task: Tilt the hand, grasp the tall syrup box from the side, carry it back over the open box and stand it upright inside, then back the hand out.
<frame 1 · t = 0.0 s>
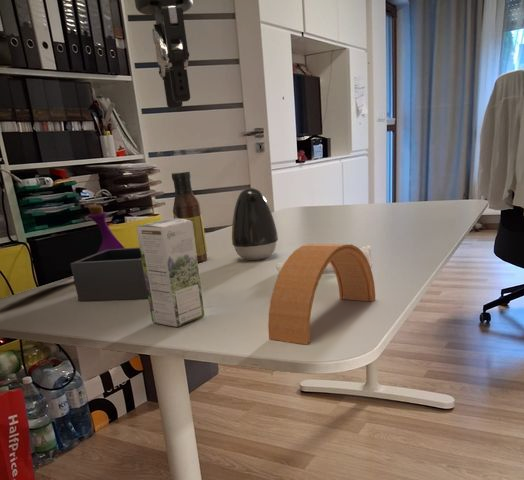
hand: (178, 104, 73), 29 cm above the table, tool pointing down, fingers open, 8 cm apart
sauce bottle: (194, 262, 121), on the table
figurine: (323, 272, 99), on the table
arch: (326, 319, 72), on the table
purple potion bottle: (116, 273, 118), on the table
black white egg shape: (256, 258, 117), on the table
open box: (129, 290, 100), on the table
syrup box: (179, 321, 78), on the table
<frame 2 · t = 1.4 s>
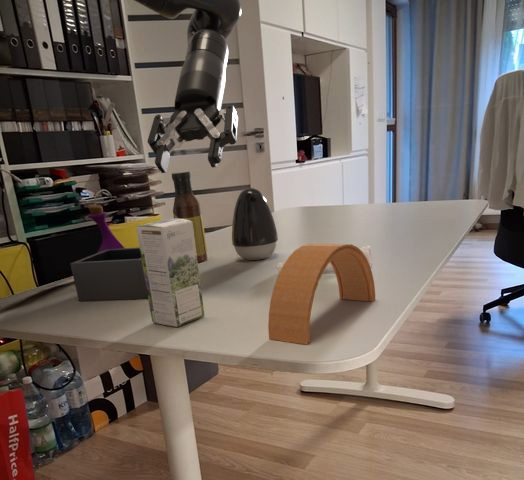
hand: (186, 166, 80), 21 cm above the table, tool tilted 45°, fingers open, 8 cm apart
nothing on the table moved.
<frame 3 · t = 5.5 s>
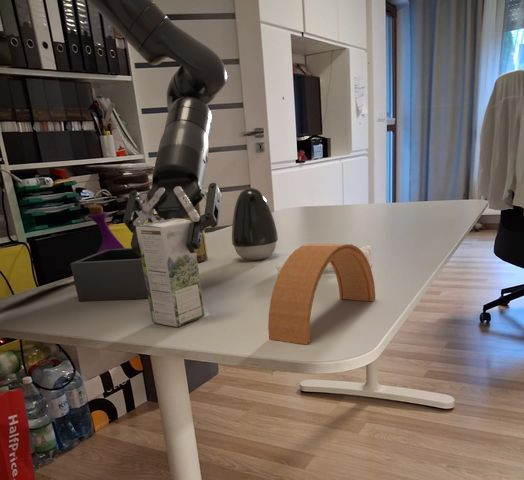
hand: (164, 251, 73), 11 cm above the table, tool tilted 45°, fingers closed on syrup box, 7 cm apart
syrup box: (179, 321, 78), on the table, touching gripper
everything else where it was.
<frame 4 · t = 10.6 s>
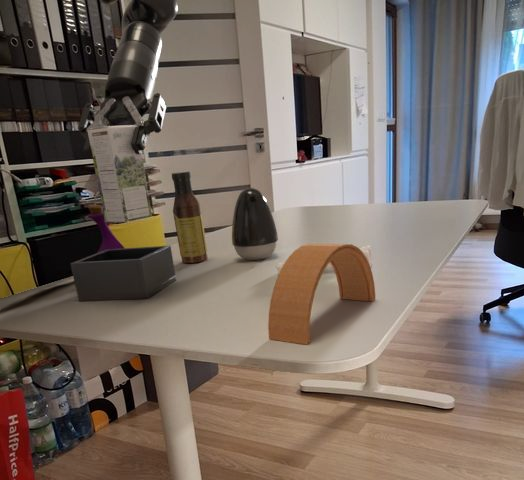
hand: (112, 152, 82), 24 cm above the table, tool tilted 45°, fingers closed on syrup box, 7 cm apart
syrup box: (129, 221, 87), point 14 cm above the table, touching gripper
everything else where it was.
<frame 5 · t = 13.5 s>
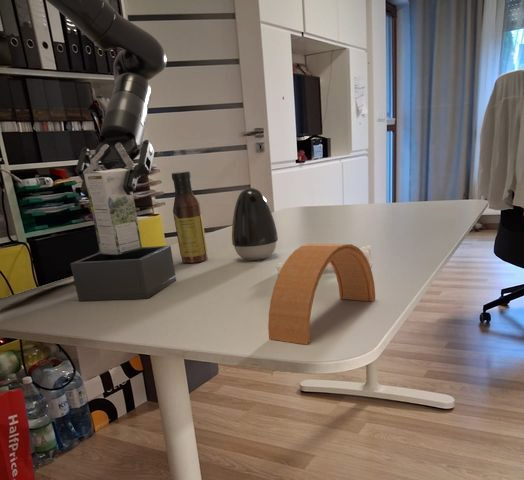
hand: (106, 193, 92), 18 cm above the table, tool tilted 45°, fingers closed on syrup box, 7 cm apart
syrup box: (122, 252, 97), point 7 cm above the table, touching gripper
everything else where it was.
when the fingers open (12 cm above the table, at t = 16.0 s): syrup box stays where it is, resting on open box.
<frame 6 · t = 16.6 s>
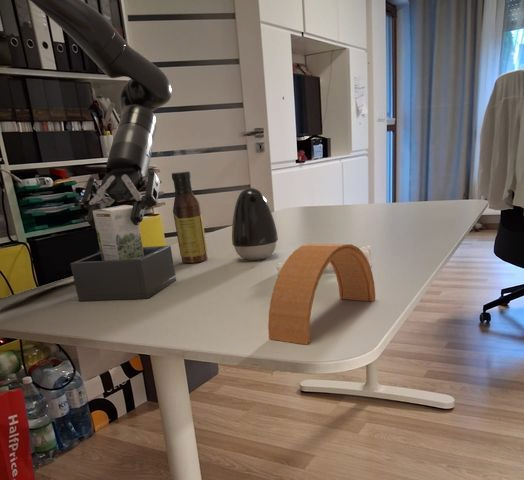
hand: (113, 224, 94), 13 cm above the table, tool tilted 45°, fingers open, 8 cm apart
syrup box: (128, 286, 100), point 1 cm above the table, touching open box
everything else where it was.
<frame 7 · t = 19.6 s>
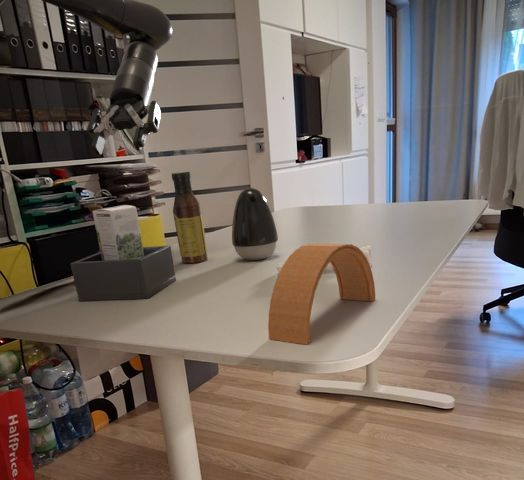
hand: (116, 149, 100), 25 cm above the table, tool tilted 45°, fingers open, 8 cm apart
nothing on the table moved.
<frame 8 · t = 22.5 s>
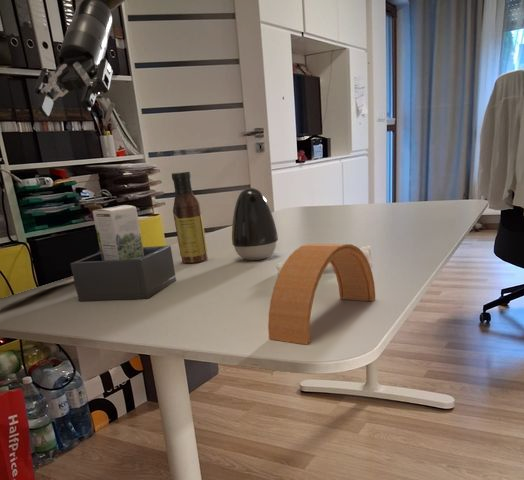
hand: (64, 110, 93), 33 cm above the table, tool tilted 45°, fingers open, 8 cm apart
nothing on the table moved.
at the end: syrup box inside the target area in the open box (0.2 cm from its centre), point 0.8 cm above the open box's base; syrup box tilted 0°; the gripper is holding nothing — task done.
